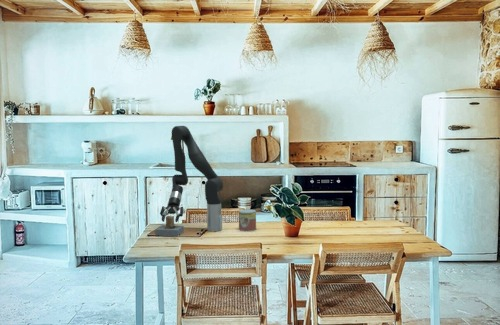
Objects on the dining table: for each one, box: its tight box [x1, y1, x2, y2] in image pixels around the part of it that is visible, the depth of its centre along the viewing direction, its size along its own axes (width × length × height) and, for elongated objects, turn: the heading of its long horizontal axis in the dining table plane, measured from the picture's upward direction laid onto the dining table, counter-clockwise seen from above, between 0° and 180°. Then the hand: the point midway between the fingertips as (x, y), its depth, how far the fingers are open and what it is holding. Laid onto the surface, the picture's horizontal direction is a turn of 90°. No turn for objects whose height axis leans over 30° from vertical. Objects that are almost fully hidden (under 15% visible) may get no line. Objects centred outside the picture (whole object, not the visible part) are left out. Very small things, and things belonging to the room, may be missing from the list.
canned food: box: [238, 208, 257, 232], centre depth 286 cm, size 11×11×12 cm
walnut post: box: [165, 215, 175, 229], centre depth 276 cm, size 4×4×11 cm
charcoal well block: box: [155, 224, 185, 237], centre depth 276 cm, size 14×12×4 cm
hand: (169, 221), depth 275 cm, fingers open, 8 cm apart
